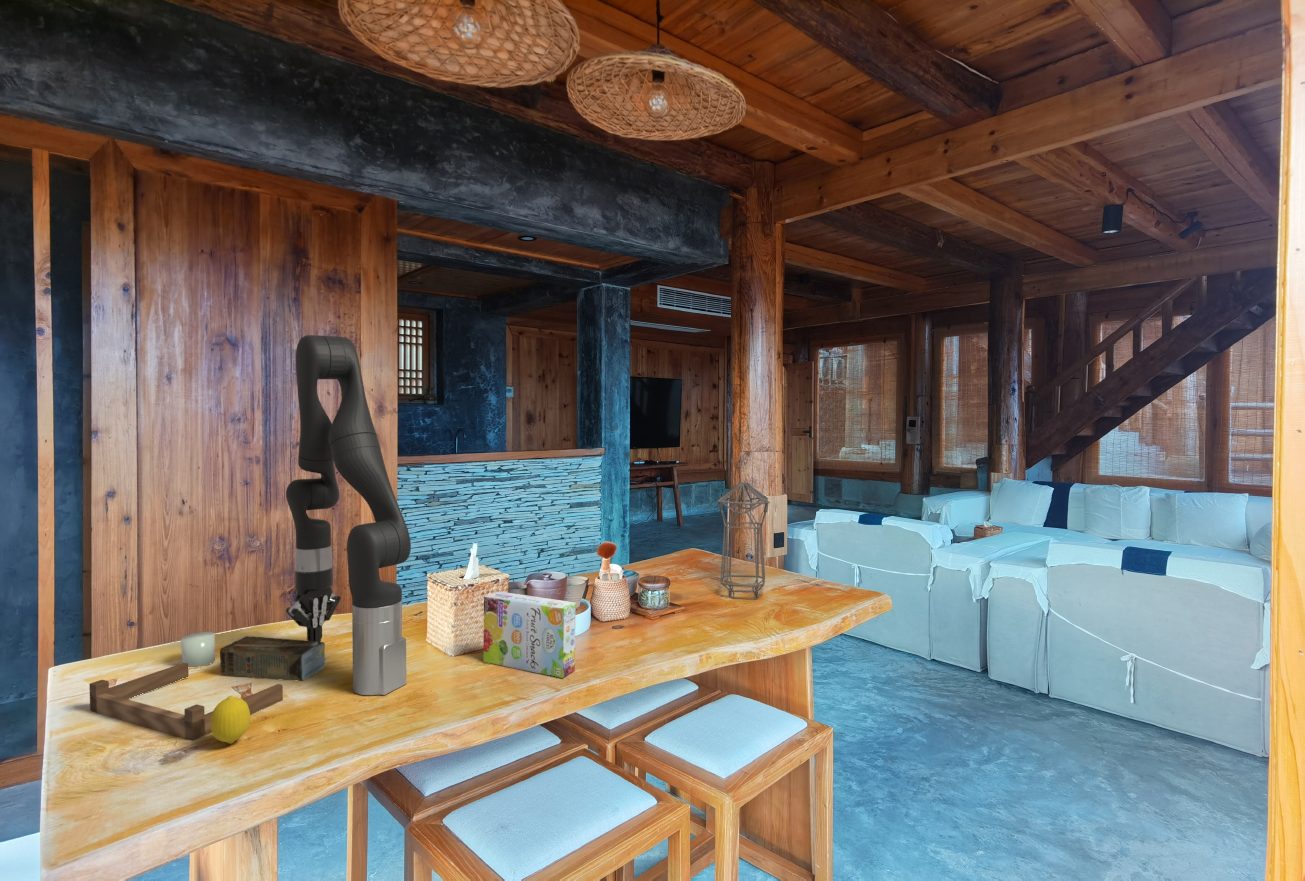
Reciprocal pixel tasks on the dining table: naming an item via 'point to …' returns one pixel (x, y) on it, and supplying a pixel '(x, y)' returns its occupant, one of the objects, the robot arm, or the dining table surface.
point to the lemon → (230, 719)
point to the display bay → (160, 719)
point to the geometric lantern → (763, 501)
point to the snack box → (530, 633)
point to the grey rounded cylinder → (198, 649)
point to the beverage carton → (272, 658)
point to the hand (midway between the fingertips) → (314, 642)
